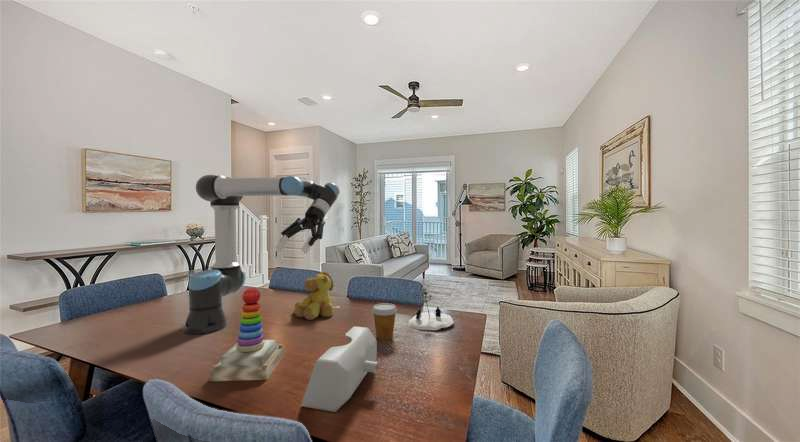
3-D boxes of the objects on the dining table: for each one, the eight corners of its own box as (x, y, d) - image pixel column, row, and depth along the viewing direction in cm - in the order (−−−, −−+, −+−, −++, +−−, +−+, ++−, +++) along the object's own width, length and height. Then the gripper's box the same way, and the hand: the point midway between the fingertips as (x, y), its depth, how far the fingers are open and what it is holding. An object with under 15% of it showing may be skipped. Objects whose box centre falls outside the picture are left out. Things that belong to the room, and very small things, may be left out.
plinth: (210, 381, 89) (209, 360, 89) (236, 355, 105) (236, 338, 105) (267, 379, 90) (266, 359, 90) (284, 354, 106) (284, 337, 106)
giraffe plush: (285, 314, 148) (284, 274, 147) (324, 302, 167) (324, 267, 166) (312, 323, 136) (311, 279, 135) (351, 310, 154) (351, 271, 154)
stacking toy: (253, 354, 93) (252, 292, 92) (230, 352, 94) (229, 290, 94) (269, 343, 100) (269, 286, 100) (248, 341, 102) (247, 284, 102)
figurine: (455, 316, 142) (451, 280, 142) (452, 331, 124) (448, 291, 124) (412, 317, 147) (408, 283, 146) (404, 332, 129) (399, 293, 129)
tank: (360, 419, 73) (360, 366, 72) (299, 409, 77) (299, 359, 76) (389, 367, 97) (389, 328, 97) (342, 361, 101) (342, 323, 101)
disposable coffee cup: (400, 334, 123) (400, 304, 123) (390, 343, 114) (389, 311, 114) (379, 330, 127) (379, 301, 127) (367, 339, 118) (367, 308, 118)
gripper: (344, 218, 130) (320, 258, 117) (300, 217, 141) (273, 254, 128) (336, 205, 125) (310, 245, 112) (291, 205, 136) (262, 242, 123)
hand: (290, 250), depth 120 cm, fingers open, 13 cm apart
